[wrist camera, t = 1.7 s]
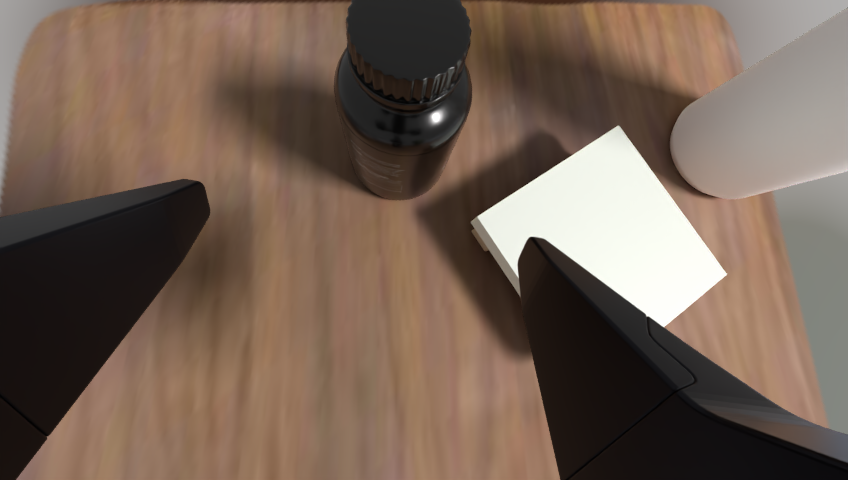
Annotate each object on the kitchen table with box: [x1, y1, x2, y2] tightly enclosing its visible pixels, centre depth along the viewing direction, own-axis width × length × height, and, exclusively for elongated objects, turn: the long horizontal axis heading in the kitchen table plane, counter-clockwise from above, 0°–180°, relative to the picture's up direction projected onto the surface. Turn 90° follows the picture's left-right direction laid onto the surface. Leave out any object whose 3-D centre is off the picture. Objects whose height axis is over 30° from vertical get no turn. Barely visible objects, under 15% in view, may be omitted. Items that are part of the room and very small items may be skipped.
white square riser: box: [471, 125, 727, 327], centre depth 22 cm, size 12×12×4 cm
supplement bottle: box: [334, 0, 472, 200], centre depth 18 cm, size 7×7×12 cm
